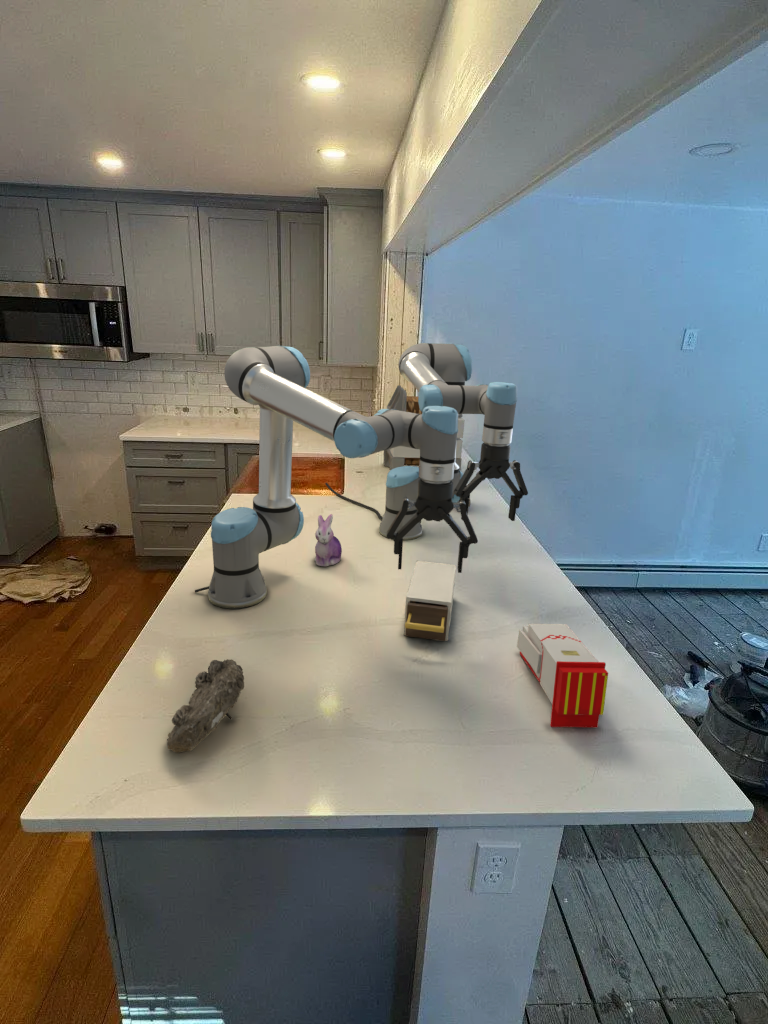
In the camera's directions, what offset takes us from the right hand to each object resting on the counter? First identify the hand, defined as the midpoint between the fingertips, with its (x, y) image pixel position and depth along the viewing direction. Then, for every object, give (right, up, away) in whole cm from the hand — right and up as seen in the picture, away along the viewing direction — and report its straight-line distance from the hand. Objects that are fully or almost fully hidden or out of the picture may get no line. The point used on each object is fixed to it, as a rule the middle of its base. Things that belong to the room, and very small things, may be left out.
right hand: (487, 520), depth 155 cm
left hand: (-18, -11, -25) cm, 33 cm away
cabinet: (-16, -25, -7) cm, 31 cm away
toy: (+8, -35, -32) cm, 48 cm away
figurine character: (+3, +4, +76) cm, 76 cm away
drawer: (-17, -26, -13) cm, 33 cm away
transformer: (-11, +21, +120) cm, 123 cm away
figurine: (-46, -13, +21) cm, 52 cm away
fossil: (-61, -37, -47) cm, 85 cm away
